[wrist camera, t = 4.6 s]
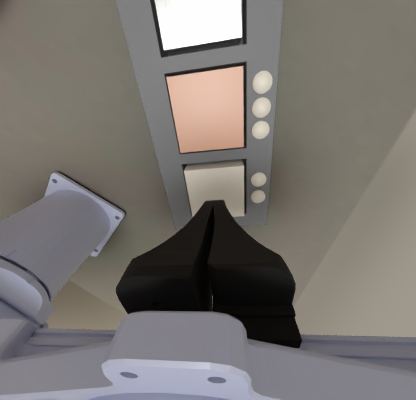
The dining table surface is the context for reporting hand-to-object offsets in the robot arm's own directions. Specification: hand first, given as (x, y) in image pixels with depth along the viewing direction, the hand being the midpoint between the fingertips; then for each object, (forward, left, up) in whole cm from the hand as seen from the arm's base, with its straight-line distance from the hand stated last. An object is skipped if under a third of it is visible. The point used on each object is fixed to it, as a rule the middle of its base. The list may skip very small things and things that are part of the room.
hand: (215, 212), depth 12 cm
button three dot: (+4, +4, -4) cm, 7 cm away
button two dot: (0, 0, -4) cm, 4 cm away
